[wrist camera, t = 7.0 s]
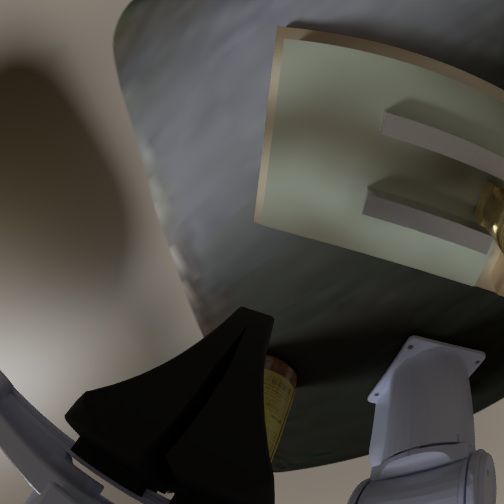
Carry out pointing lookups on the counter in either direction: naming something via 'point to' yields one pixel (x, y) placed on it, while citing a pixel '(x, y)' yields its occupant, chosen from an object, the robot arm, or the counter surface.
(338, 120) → the door and jamb
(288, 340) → the counter surface
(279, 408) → the sauce bottle
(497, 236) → the bolt
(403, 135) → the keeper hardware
